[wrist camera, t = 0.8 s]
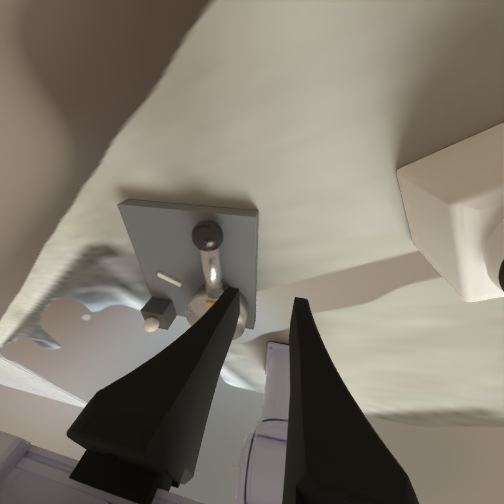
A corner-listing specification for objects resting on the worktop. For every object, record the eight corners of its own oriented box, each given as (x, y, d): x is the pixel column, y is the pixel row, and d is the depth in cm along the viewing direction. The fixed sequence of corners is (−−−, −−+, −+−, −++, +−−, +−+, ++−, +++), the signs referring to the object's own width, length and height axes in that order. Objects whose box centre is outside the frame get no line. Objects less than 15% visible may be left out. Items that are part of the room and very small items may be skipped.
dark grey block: (176, 315, 28) (161, 339, 25) (157, 311, 29) (139, 335, 26) (172, 300, 27) (154, 324, 24) (152, 296, 27) (132, 320, 24)
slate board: (255, 320, 28) (252, 331, 26) (163, 303, 30) (156, 313, 29) (258, 210, 19) (254, 218, 17) (127, 199, 21) (114, 205, 20)
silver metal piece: (249, 327, 26) (244, 348, 24) (199, 318, 27) (189, 337, 25) (249, 218, 18) (241, 234, 15) (176, 211, 19) (158, 225, 16)
